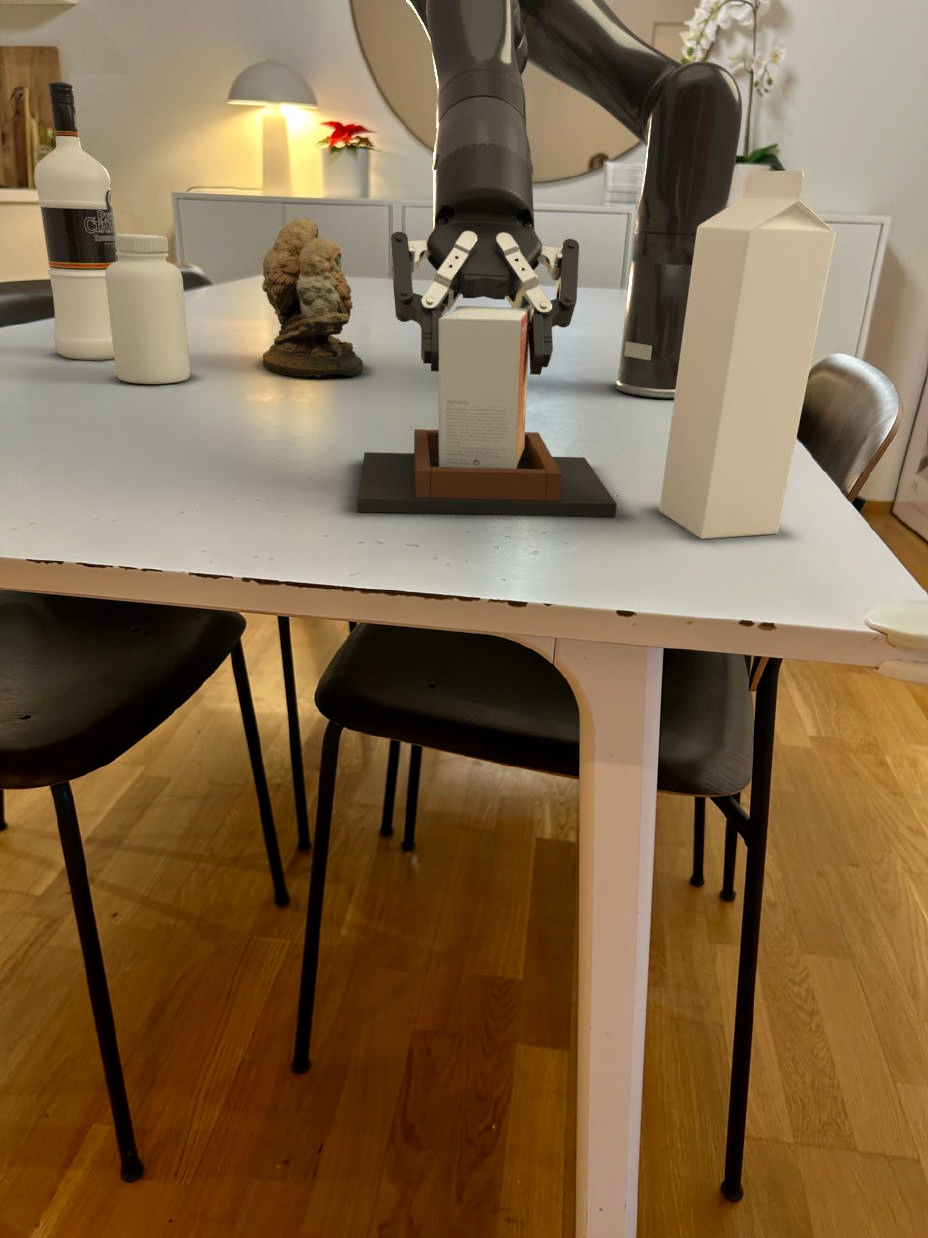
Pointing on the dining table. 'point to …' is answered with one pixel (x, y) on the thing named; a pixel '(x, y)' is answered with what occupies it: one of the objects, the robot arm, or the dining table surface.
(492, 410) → the small box
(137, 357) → the pill bottle
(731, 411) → the milk
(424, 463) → the dock pad
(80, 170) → the vodka
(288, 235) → the owl figurine
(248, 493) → the dining table surface
